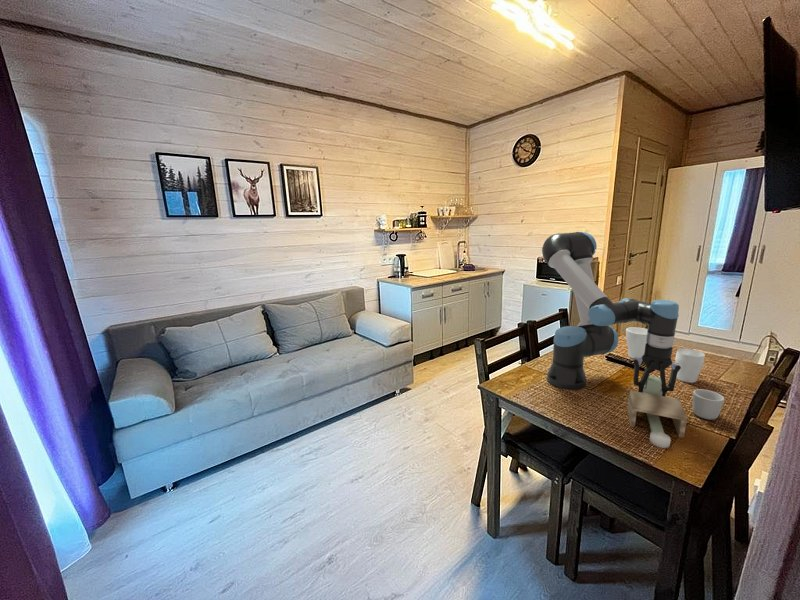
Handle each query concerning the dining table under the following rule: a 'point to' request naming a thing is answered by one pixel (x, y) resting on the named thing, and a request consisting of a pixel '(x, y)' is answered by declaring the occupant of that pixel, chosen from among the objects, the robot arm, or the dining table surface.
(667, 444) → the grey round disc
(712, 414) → the cup
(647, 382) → the sage green mallet
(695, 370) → the cup
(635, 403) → the beige arch
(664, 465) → the dining table surface
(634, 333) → the cup
